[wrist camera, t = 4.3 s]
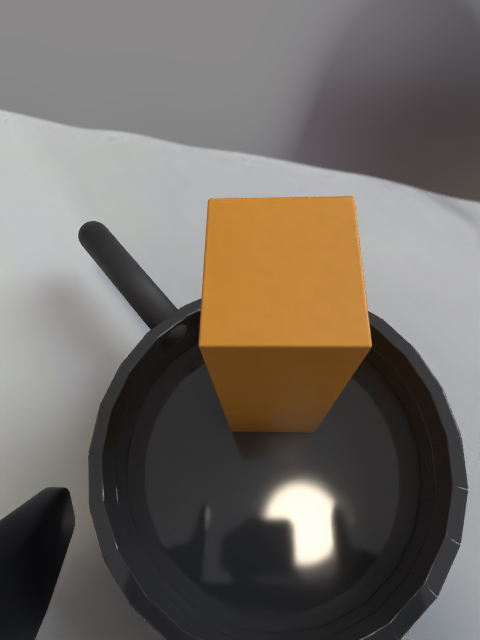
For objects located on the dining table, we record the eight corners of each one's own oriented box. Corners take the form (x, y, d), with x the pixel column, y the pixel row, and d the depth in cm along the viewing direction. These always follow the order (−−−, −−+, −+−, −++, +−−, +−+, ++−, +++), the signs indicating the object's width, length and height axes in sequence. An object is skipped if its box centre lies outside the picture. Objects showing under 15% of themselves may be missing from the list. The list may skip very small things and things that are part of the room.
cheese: (314, 433, 20) (373, 347, 9) (231, 431, 20) (197, 346, 10) (309, 346, 22) (354, 195, 11) (233, 346, 22) (208, 198, 11)
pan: (254, 745, 16) (252, 811, 12) (62, 437, 21) (22, 423, 17) (497, 476, 19) (549, 469, 16) (281, 270, 24) (284, 230, 21)
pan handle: (196, 334, 20) (191, 321, 19) (169, 354, 20) (162, 342, 19) (104, 228, 23) (93, 209, 22) (79, 244, 23) (67, 226, 22)
